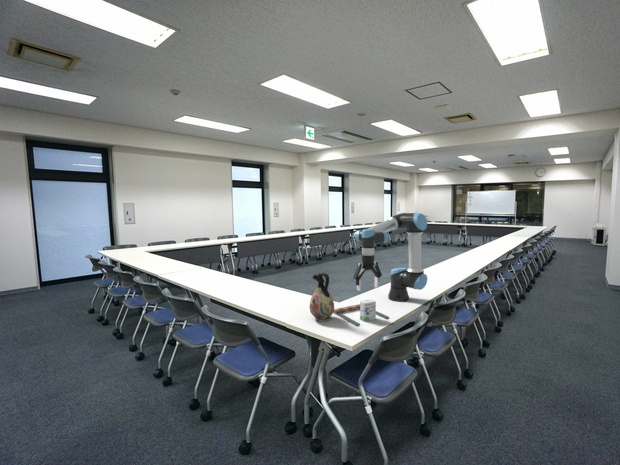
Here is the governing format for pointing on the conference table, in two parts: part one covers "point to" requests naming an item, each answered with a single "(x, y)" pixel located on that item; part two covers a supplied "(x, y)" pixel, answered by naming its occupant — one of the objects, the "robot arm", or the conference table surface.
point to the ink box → (367, 310)
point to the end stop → (347, 309)
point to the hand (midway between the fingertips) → (367, 289)
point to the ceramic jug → (321, 299)
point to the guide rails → (357, 322)
